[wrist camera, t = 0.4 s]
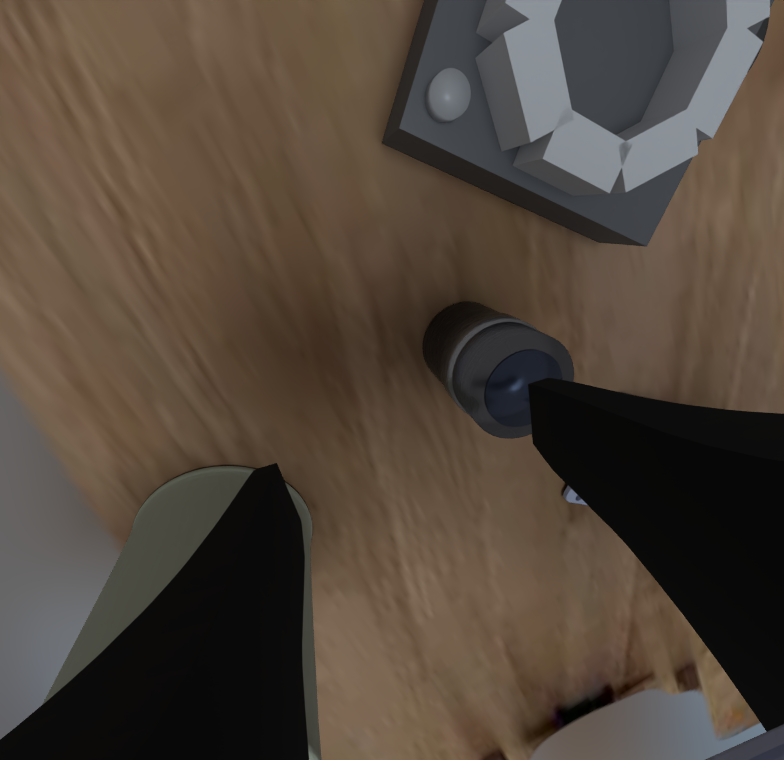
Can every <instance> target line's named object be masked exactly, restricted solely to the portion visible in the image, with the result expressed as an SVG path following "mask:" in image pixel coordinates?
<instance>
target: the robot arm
mask: <svg viewBox="0 0 784 760" xmlns="http://www.w3.org/2000/svg"><path fill="white" fill-rule="evenodd" d="M528 390H529V402H530V414H531V425H532V437H533V444H534V445H535V447H536V448H537V450H538V451H539V452H540V454H541V455H542V456H543V458H544V459H545V460H546V462H547V463H548V464H549V465H550V467H551V468H552V469H553V471H554V472H555V473H556V474H557V475H558V476H559V477H560V478H561V479H562V480H563V481H564V482H565V483H566V484H567V485H568V486H567V488H566V490H565V491H564V494H563V497H564V498H565V499H566V500H567V501H568V502H571V503H577V504H583V505H588V506H589V507H590V508H591V509H592V510H593V511H594V512H595V513H596V514H597V515H598V516H599V517H600V518H601V519H602V520H603V521H604V522H605V523H606V524H607V525H609V526H610V527H611V528H612V529H613V531H614V532H615V533H616V534H617V535H618V536H619V537H620V538H621V539H622V540H623V541H624V542H625V543H626V545H627V546H628V547H629V548H630V549H631V551H632V552H633V553H634V554H635V555H636V557H637V558H638V559H639V560H640V561H641V563H642V564H643V565H644V566H645V567H646V569H647V570H648V571H649V572H650V573H651V575H652V576H653V577H654V578H655V580H656V581H657V582H658V583H659V585H660V586H661V587H662V588H663V590H664V591H665V592H666V593H667V595H668V596H669V597H670V599H671V600H672V601H673V602H674V604H675V605H676V606H677V607H678V609H679V610H680V611H681V613H682V614H683V615H684V616H685V618H686V619H687V620H688V622H689V623H690V624H691V626H692V627H693V629H694V630H695V631H696V633H697V634H698V635H699V637H700V638H701V639H702V641H703V642H704V643H705V645H706V646H707V647H708V649H709V650H710V651H711V653H712V654H713V655H714V657H715V658H716V659H717V661H718V662H719V663H720V665H721V666H722V668H723V669H724V671H725V672H726V673H727V675H728V676H729V678H730V679H731V681H732V682H733V683H734V685H735V686H736V688H737V689H738V691H739V692H740V693H741V695H742V696H743V698H744V699H745V701H746V702H747V703H748V705H749V706H750V708H751V709H752V711H753V712H754V713H755V715H756V716H757V718H758V719H759V721H760V722H761V724H762V725H763V727H764V728H765V730H766V731H767V732H766V733H763V734H761V735H759V736H757V737H754V738H752V739H750V740H748V741H746V742H743V743H741V744H739V745H737V746H735V747H732V748H730V749H728V750H726V751H723V752H721V753H720V754H717V755H715V756H712V757H710V758H708V759H706V760H784V414H778V413H762V412H747V411H735V410H725V409H716V408H708V407H700V406H691V405H685V404H678V403H672V402H666V401H661V400H655V399H649V398H644V397H639V396H634V395H630V394H625V393H620V392H615V391H611V390H606V389H602V388H598V387H593V386H589V385H584V384H580V383H575V382H571V381H566V380H561V379H554V378H545V379H542V380H539V381H536V382H533V383H529V384H528ZM304 573H305V552H304V540H303V531H302V522H301V519H300V516H299V514H298V512H297V509H296V507H295V505H294V502H293V500H292V498H291V495H290V493H289V491H288V488H287V486H286V484H285V481H284V479H283V477H282V474H281V472H280V470H279V467H278V465H277V463H275V464H272V465H269V466H266V467H262V468H259V469H256V470H254V471H253V472H252V473H251V474H250V476H249V477H248V479H247V480H246V481H245V483H244V484H243V486H242V487H241V489H240V490H239V492H238V493H237V495H236V496H235V498H234V499H233V501H232V502H231V503H230V505H229V506H228V508H227V509H226V511H225V512H224V513H223V515H222V516H221V518H220V519H219V521H218V522H217V523H216V525H215V526H214V528H213V529H212V530H211V531H210V533H209V534H208V535H207V537H206V538H205V539H204V541H203V542H202V543H201V544H200V546H199V547H198V548H197V550H196V551H195V552H194V553H193V555H192V556H191V557H190V559H189V560H188V561H187V562H186V564H185V565H184V566H183V567H182V569H181V570H180V571H179V572H178V573H177V574H176V576H175V577H174V578H173V579H172V580H171V581H170V582H169V584H168V585H167V586H166V587H165V588H164V589H163V590H162V591H161V592H160V593H159V595H158V596H157V597H156V598H155V599H154V600H153V601H152V602H151V603H150V604H149V605H148V607H147V608H146V609H145V610H144V611H143V612H142V613H141V614H140V615H139V616H138V617H137V618H136V619H135V620H134V621H133V622H132V623H131V624H130V625H129V626H128V627H127V628H126V629H125V630H124V631H122V632H121V633H120V634H119V635H118V636H117V637H116V638H115V639H114V640H113V641H112V642H111V643H110V644H109V645H108V646H107V647H106V648H105V649H104V650H103V651H102V652H101V653H100V654H99V655H98V656H97V657H96V658H95V659H94V660H93V661H92V662H90V663H89V664H88V665H87V666H86V667H85V668H84V669H83V670H82V671H80V672H79V673H78V674H77V675H76V676H75V677H74V678H73V679H72V680H70V681H69V682H68V683H67V684H66V685H65V686H64V687H63V688H61V689H60V690H59V691H58V692H57V693H56V694H54V695H53V696H52V697H51V698H50V699H49V700H47V701H46V702H45V703H44V704H43V705H42V706H41V707H39V708H38V709H37V710H36V711H35V712H34V713H32V714H31V715H30V716H29V717H28V718H26V719H25V720H24V721H23V722H22V723H20V724H19V725H18V726H17V727H16V728H14V729H13V730H12V731H11V732H9V733H8V734H7V735H6V736H4V737H3V738H2V739H1V740H0V760H309V750H308V738H307V725H306V712H305V697H304V681H303V665H302V637H303V606H304Z"/></svg>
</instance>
